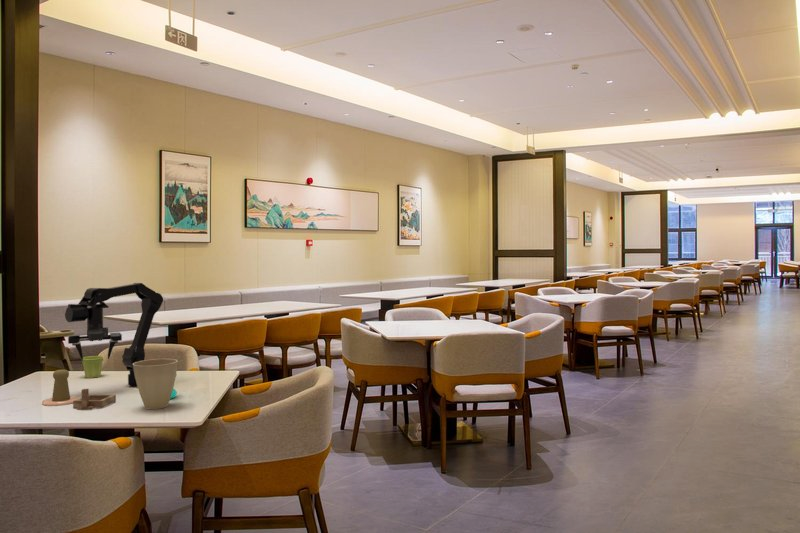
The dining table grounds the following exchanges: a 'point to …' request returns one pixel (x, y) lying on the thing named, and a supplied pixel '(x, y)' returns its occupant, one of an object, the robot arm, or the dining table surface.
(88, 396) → the collar stand
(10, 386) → the dining table surface
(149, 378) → the plant pot
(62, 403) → the coaster
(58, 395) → the olive bulb shape
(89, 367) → the plant pot
